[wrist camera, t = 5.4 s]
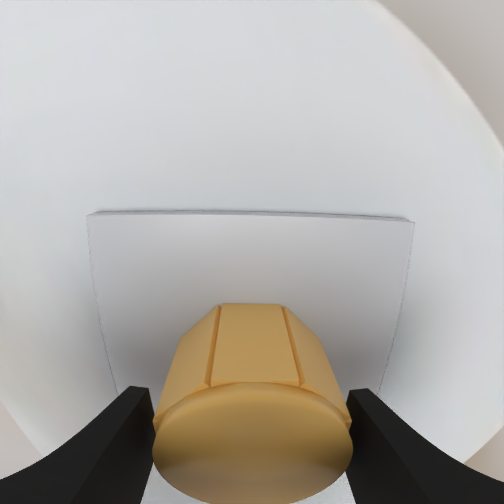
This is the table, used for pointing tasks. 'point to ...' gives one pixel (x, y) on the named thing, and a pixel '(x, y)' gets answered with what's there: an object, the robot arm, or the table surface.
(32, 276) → the table surface
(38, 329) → the table surface
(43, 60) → the table surface
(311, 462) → the wire nut
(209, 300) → the plate
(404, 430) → the robot arm
